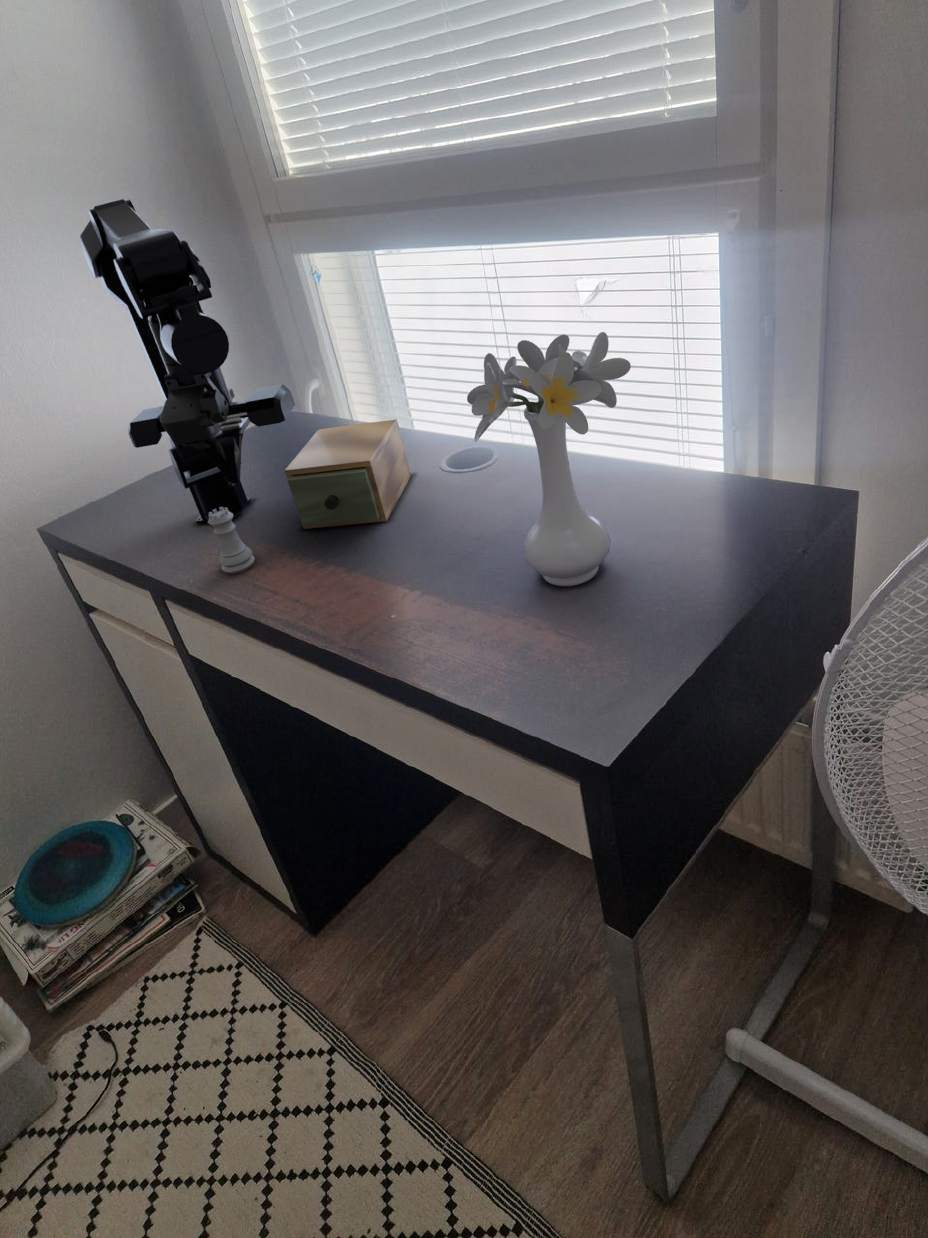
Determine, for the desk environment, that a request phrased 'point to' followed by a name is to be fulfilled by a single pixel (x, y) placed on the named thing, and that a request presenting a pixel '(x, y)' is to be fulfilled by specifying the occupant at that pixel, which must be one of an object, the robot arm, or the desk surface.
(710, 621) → the desk surface
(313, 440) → the drawer unit
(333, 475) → the drawer
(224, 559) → the rook chess piece
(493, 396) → the flower vase
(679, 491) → the desk surface
